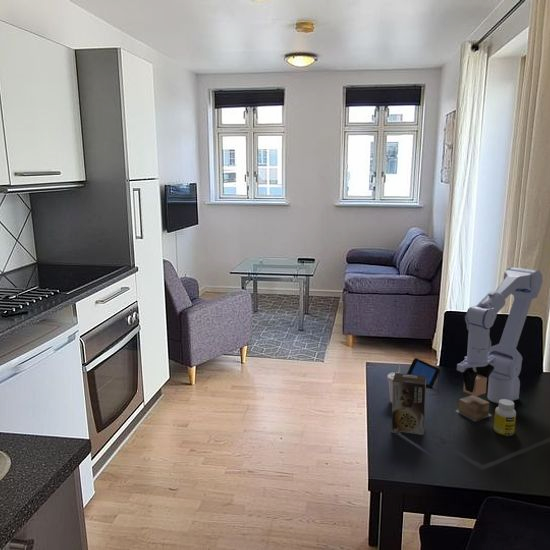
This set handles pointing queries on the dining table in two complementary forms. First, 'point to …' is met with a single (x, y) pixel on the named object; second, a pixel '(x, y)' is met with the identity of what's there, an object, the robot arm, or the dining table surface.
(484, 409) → the walnut block
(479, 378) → the terracotta block
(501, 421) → the supplement bottle
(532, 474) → the dining table surface
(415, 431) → the printed cardboard box
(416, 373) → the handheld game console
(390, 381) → the smoothie
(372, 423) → the dining table surface
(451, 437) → the dining table surface
